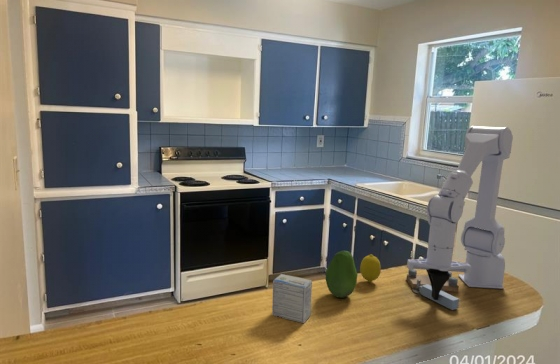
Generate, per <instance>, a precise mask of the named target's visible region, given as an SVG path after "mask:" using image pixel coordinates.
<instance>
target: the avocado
mask: <svg viewBox="0 0 560 364" xmlns="http://www.w3.org/2000/svg"><path fill="white" fill-rule="evenodd" d="M325 282H326V286H327V288H328V291H329V293H330V294H332V295H333V296H334V297H336V298H340V299H341V298H342V299H343V298H347V297H348V296H350V295H352V294H353V292H354V291H355V288H356V285H357V282H358V272H357V268H356V264H355V260H354V257H353V255H352V253H351V252H350V251H348V250H341V251H338V252H336V253H335V254H334V256H333V257H332V258H331V260H330V262H329V263H328V266H327V268H326V270H325Z"/></svg>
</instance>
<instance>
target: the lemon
mask: <svg viewBox="0 0 560 364" xmlns="http://www.w3.org/2000/svg"><path fill="white" fill-rule="evenodd" d="M359 268H360V269H359V271H360V274H361V277H362V278H363V279H364V280H366V281H367V282H368V283H371V282H373V281H375V280H377V279H378V278H379V276H380V275H381V270H382V267H381V262H380V260H379V258H378V257H377V256H374V255H373V254H371V253H370V254H368V255H366V256H365V257H363V258H362V260H361V262H360V266H359Z"/></svg>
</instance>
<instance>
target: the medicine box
mask: <svg viewBox="0 0 560 364" xmlns="http://www.w3.org/2000/svg"><path fill="white" fill-rule="evenodd" d="M312 285H313V280H311V279H308V278H304V277H303V278H302V277H299V276H295V275H293V276H292V275H288V274H284V273H283V274H282V273H280V274H279V275H278V276H277V277H276V278H274V279H273V281H272V305H271V306H272V308H271V315H272V316H273V315H275V316H274V317H277V316H279V317H278V318H281V317H282V318H281V319H286V320H289V321H294V322H298V323H302V324H305V323H306V321H307V320H308V319H309V318H310V316H311V315H312V313H311V311H312V293H313V292H312V289H313V288H312V287H313V286H312Z"/></svg>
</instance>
